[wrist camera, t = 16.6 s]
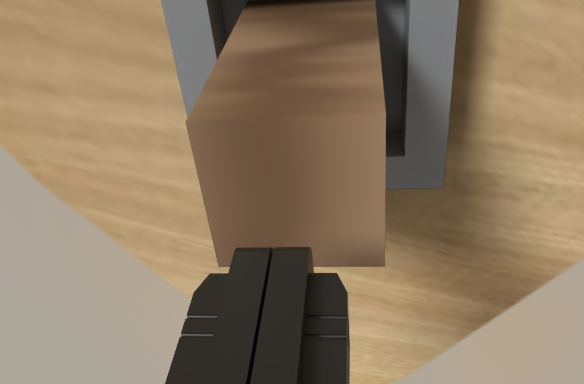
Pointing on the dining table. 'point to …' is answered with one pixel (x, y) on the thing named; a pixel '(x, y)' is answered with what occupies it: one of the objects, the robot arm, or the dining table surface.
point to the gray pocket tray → (395, 72)
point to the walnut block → (296, 133)
